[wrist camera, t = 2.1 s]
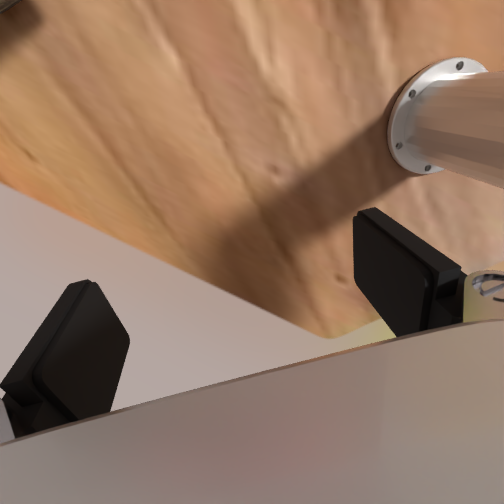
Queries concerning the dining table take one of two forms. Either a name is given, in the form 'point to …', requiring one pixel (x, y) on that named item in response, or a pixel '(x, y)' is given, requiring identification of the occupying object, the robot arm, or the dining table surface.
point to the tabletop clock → (7, 4)
